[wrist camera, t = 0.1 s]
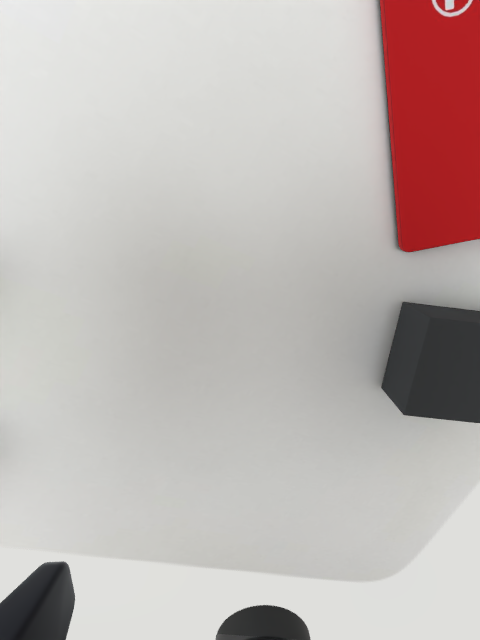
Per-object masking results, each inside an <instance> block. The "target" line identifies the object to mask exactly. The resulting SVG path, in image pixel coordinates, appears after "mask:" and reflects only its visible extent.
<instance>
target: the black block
mask: <svg viewBox="0 0 480 640" xmlns="http://www.w3.org/2000/svg"><path fill="white" fill-rule="evenodd" d="M382 389H383V390H384V392H385V393H386V394H387V395H388V396H389V398H390V399H391V400H392V401H393V402H394V404H395V405H396V406H397V407H398V409H399V410H400V411H401V412H402V413H403V415H408V416H418V417H427V418H436V419H446V420H455V421H465V422H474V423H480V311H472V310H464V309H456V308H448V307H440V306H432V305H423V304H415V303H407V302H403V304H402V308H401V312H400V316H399V320H398V324H397V328H396V331H395V335H394V339H393V343H392V347H391V351H390V355H389V359H388V363H387V367H386V371H385V375H384V379H383V383H382Z"/></svg>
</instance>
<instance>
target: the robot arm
mask: <svg viewBox="0 0 480 640" xmlns="http://www.w3.org/2000/svg"><path fill="white" fill-rule="evenodd" d="M74 602H75V594H74V589H73V584H72V579H71V574H70V569H69V566H68V564H67V563H66V562H47V563H44V564H42V565H41V566H40V567H38V568H37V569H36V570H35V571H34V572H33V573H32V574H31V575H30V576H29V577H28V578H27V579H26V580H25V581H24V582H22V584H20V585H19V586H18V587H17V588H16V589H15V590H14V591H13V592H12V593H11V594H10V595H9V596H8V597H6V599H4V600H3V601H2V602H1V603H0V640H66V636H67V632H68V629H69V624H70V621H71V617H72V613H73V609H74Z"/></svg>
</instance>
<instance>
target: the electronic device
mask: <svg viewBox="0 0 480 640" xmlns="http://www.w3.org/2000/svg"><path fill="white" fill-rule="evenodd" d="M380 10H381V23H382V36H383V49H384V62H385V75H386V88H387V101H388V114H389V127H390V140H391V153H392V166H393V179H394V192H395V205H396V218H397V231H398V244H399V247H400V249H401V250H403V251H405V252H413V251H418V250H423V249H429V248H434V247H439V246H444V245H449V244H454V243H460V242H465V241H470V240H475V239H480V0H380Z"/></svg>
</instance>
